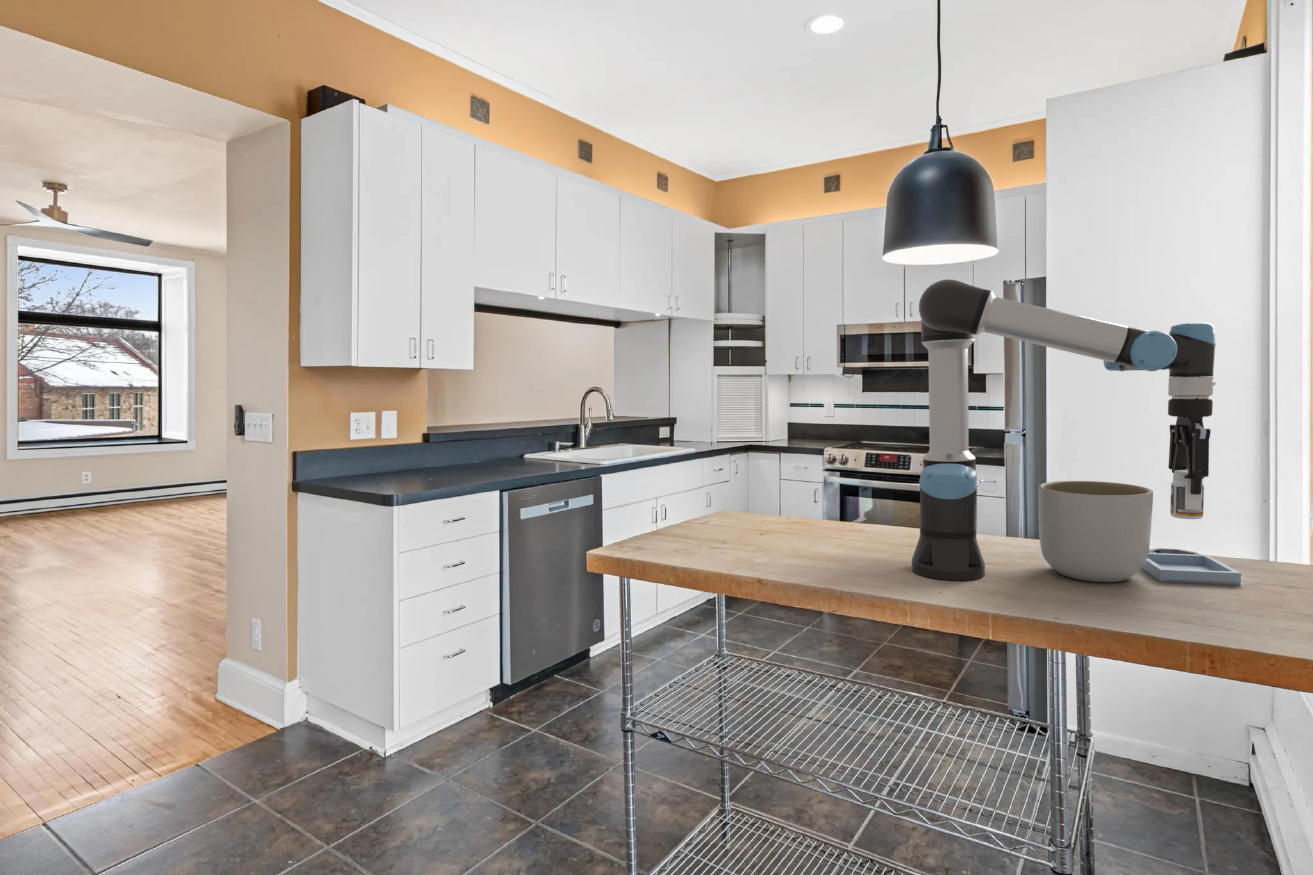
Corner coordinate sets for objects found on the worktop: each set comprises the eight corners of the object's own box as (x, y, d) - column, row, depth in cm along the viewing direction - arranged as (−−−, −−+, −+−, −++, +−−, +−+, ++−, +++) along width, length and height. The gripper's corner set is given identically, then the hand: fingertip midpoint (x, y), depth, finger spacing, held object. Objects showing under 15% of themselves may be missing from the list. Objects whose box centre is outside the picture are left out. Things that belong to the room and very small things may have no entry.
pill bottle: (1209, 518, 152) (1211, 471, 151) (1189, 520, 150) (1190, 473, 149) (1183, 513, 157) (1185, 468, 156) (1163, 515, 156) (1164, 470, 155)
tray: (1160, 581, 149) (1160, 569, 149) (1134, 563, 164) (1134, 552, 163) (1240, 585, 145) (1241, 573, 145) (1206, 566, 160) (1207, 555, 160)
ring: (1158, 563, 163) (1158, 557, 163) (1142, 552, 173) (1142, 547, 173) (1210, 565, 160) (1210, 559, 160) (1190, 554, 170) (1191, 549, 170)
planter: (1133, 565, 162) (1136, 481, 160) (1164, 592, 142) (1168, 497, 140) (1030, 560, 168) (1031, 479, 167) (1046, 585, 149) (1048, 494, 147)
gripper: (1233, 398, 142) (1228, 515, 143) (1191, 395, 160) (1187, 499, 161) (1188, 399, 144) (1184, 514, 146) (1152, 396, 162) (1149, 498, 164)
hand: (1186, 506), depth 153 cm, fingers closed on pill bottle, 6 cm apart
